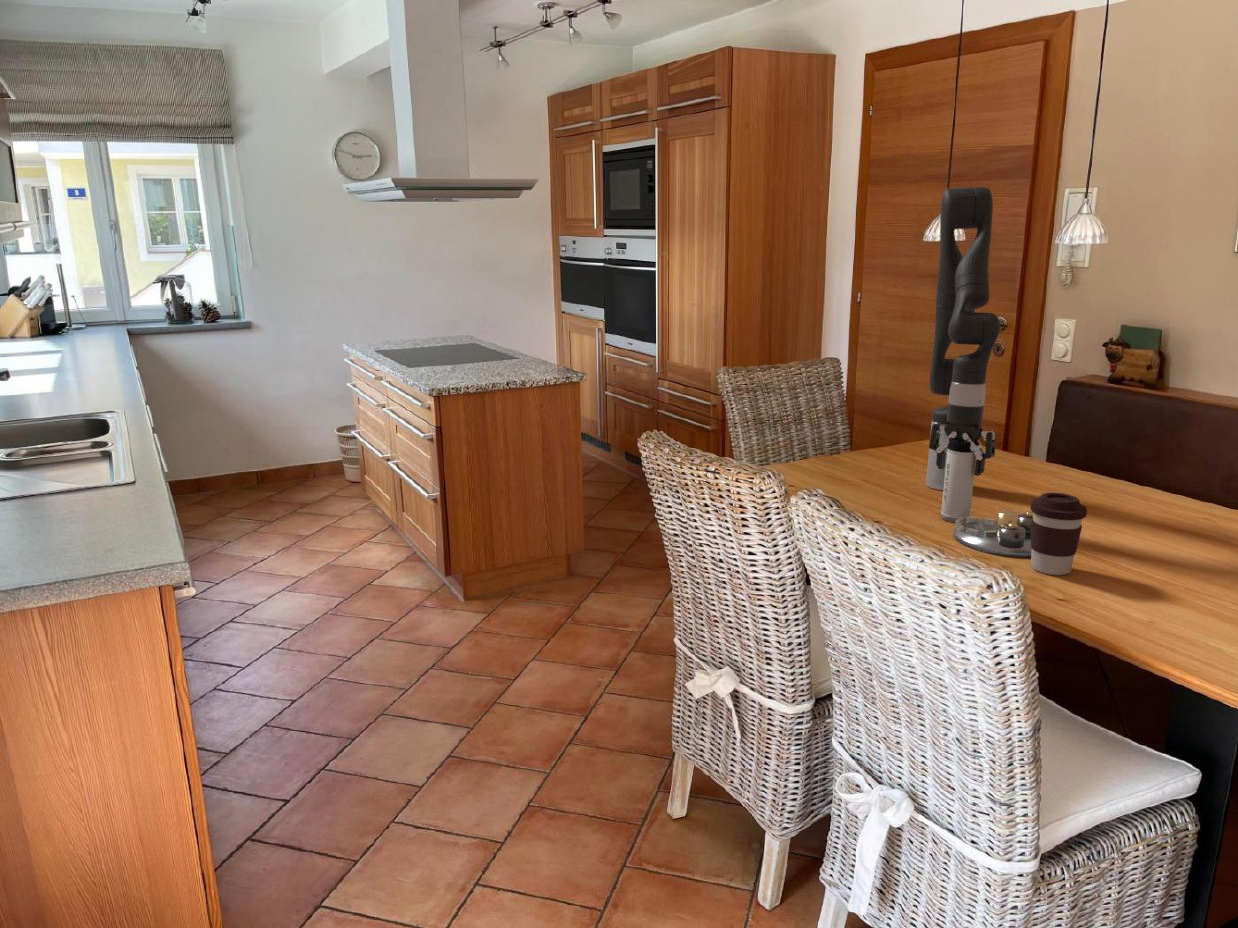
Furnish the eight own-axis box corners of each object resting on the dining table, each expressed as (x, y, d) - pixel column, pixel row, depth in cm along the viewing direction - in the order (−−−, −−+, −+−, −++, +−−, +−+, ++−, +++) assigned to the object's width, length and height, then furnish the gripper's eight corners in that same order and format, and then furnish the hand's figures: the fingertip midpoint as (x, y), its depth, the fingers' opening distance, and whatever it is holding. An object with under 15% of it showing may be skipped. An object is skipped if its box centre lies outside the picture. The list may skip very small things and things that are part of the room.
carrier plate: (975, 518, 210) (978, 492, 208) (1071, 539, 196) (1075, 512, 194) (936, 541, 195) (939, 513, 193) (1038, 565, 181) (1042, 536, 179)
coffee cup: (1015, 560, 184) (1024, 489, 180) (1064, 560, 184) (1074, 490, 180) (1035, 578, 174) (1045, 504, 170) (1087, 579, 174) (1098, 505, 170)
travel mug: (970, 516, 211) (979, 433, 206) (968, 524, 205) (977, 439, 200) (942, 512, 214) (950, 430, 208) (939, 521, 208) (947, 436, 203)
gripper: (1004, 404, 200) (996, 474, 204) (942, 396, 210) (936, 463, 214) (991, 408, 195) (983, 480, 199) (928, 400, 204) (922, 469, 208)
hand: (959, 471), depth 206 cm, fingers open, 8 cm apart
